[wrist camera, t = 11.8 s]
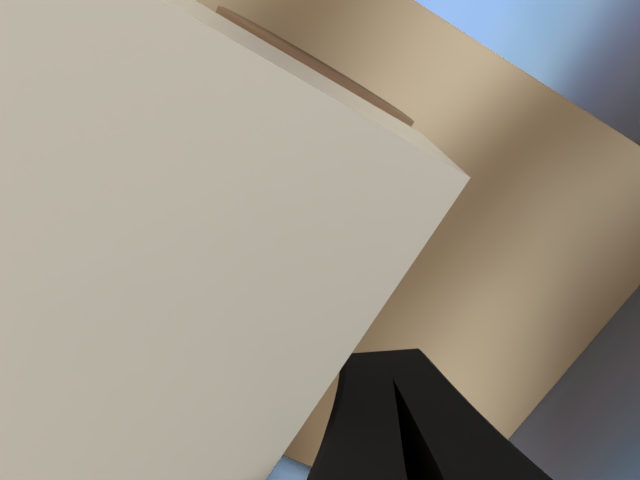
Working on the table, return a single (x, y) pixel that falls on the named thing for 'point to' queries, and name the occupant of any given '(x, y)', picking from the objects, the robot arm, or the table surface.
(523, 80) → the roller bed
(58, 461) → the slab
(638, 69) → the table surface
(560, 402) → the table surface
